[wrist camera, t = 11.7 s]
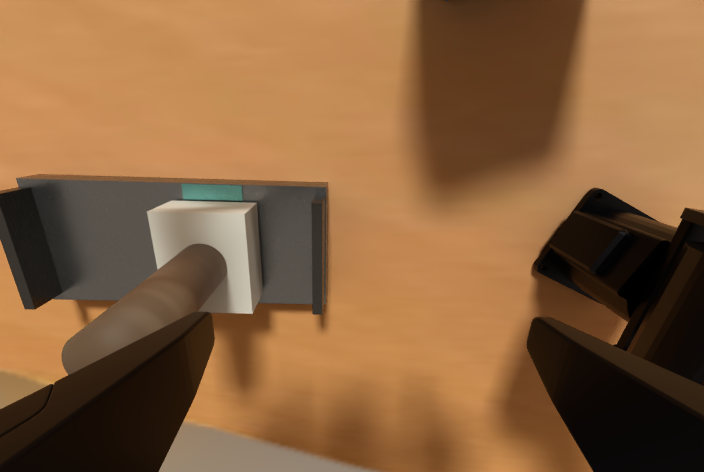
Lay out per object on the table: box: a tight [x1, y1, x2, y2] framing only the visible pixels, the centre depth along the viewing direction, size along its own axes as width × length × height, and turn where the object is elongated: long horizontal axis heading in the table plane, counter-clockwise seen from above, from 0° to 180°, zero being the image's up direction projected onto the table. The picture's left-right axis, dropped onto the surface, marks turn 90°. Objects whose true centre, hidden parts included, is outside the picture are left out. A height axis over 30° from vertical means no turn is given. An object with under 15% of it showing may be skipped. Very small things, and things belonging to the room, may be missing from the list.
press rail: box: [0, 174, 328, 315], centre depth 20 cm, size 18×8×4 cm, turn 88°
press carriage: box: [62, 201, 263, 375], centre depth 15 cm, size 5×6×10 cm
